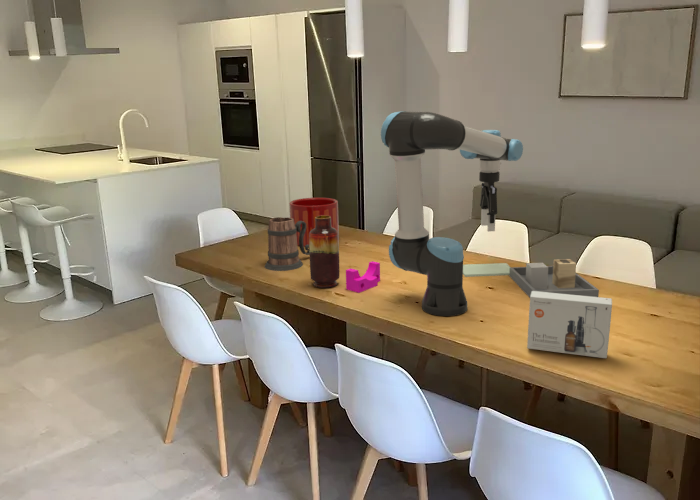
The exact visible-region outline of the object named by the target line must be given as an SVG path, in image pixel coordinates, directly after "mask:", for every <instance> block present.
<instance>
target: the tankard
mask: <svg viewBox="0 0 700 500" xmlns="http://www.w3.org/2000/svg"><path fill="white" fill-rule="evenodd" d="M301 223H302V229H301V226H300V225H301ZM300 229H301V231H300ZM305 231H306V223H305V222H304V221H298V222H297V223H296V224H295V223H294V219H293V218H290V217H281V216H280V217H279V216H278V217H272V218H270V219H269V221H268V228H267V239H268V245H267V246H268V251H267V256H268V260H266V263H265V264H264V268H265V270H269V271H274V272H285V271H293V270H297V269H300V268H302V267H303V265H304V263H303V262H302V260H301V259H300V257H299V254H300V253H299V249H300V251H301V253H302V254H303V255H306V256H310V254H309V245H308V244H307V245H305V247H304V246H303V238H304V234H305ZM296 232H299V233H300V235H299V246H297V236H296ZM298 247H299V249H298Z"/></svg>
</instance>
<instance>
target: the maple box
mask: <svg viewBox="0 0 700 500" xmlns="http://www.w3.org/2000/svg"><path fill="white" fill-rule="evenodd" d="M552 266H553V279H552V283H553V284H554V285H555V286H556V287H557V288H575V275H576V273H577V262H576V261H574V260H572V259H570V258H565V259H559V258H557V259H553V265H552Z"/></svg>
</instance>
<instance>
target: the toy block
mask: <svg viewBox="0 0 700 500" xmlns="http://www.w3.org/2000/svg"><path fill="white" fill-rule="evenodd" d="M380 282H381V262H378V261H377V262H376V261H369V262H368V266H367V270H366V271H365V272H364V274H363V275H362V276H361V275H360V273H359V270H358V269H355V268H350V267H349V268H348V269H347V268H346V269H345V286H346V288H345V289H346V290H347V291H351V292H355V293H358V294H359V293H362V292H364V291H367V290H371V289H372V288H375V287H377V286H378V283H380Z"/></svg>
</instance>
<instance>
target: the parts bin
mask: <svg viewBox="0 0 700 500" xmlns="http://www.w3.org/2000/svg"><path fill="white" fill-rule="evenodd" d="M546 266H547V267H548V281H547V289H534V288H533V287H532V286H531V285H530V284H529V283H528V282H527V281H526V266H514V267H511V266H510V272H509V275H508V277H510V279H511V280H512V281H514V283H515V284H516V285H517V286H518V287H519V288H520V289H521V290H522V291H523V293H525V294H526V295H527V296H528V298H530V295H531V292H532V291H539V292H549V293H559V294H570V295H581V296H591V297H599V294H600V293H599V292H600V289H598V288H597V287H596V286H595V285H593V284H592V283H590V282H589V281H588V280H586V279H585V278H584V277H582V276H581V275H579V274H578V273H577V272H576V275H575V288H557V287H556V286H555V285H554V284H553V283H552V279H553V265H546Z"/></svg>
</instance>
